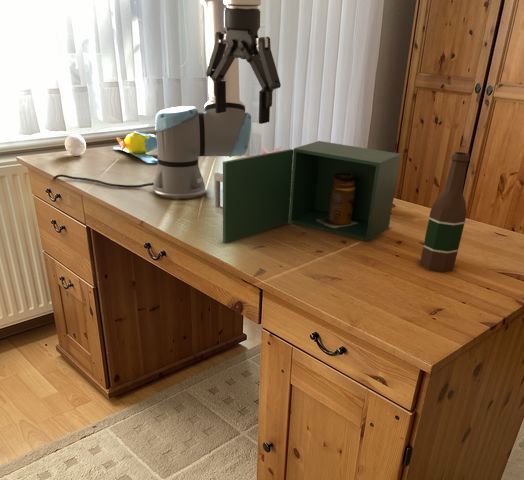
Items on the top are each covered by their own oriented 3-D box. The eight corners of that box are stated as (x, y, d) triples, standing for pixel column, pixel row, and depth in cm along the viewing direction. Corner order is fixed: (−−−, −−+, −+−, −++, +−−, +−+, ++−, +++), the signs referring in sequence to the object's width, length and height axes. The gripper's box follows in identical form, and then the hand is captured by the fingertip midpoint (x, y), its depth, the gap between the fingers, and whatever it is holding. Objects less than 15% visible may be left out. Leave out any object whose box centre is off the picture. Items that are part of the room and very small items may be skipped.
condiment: (358, 223, 140) (364, 176, 134) (333, 229, 136) (339, 180, 130) (339, 216, 145) (344, 170, 139) (315, 221, 141) (319, 174, 135)
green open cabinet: (368, 241, 132) (379, 162, 122) (288, 222, 142) (293, 148, 132) (388, 228, 141) (400, 153, 131) (312, 210, 151) (318, 140, 142)
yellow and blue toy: (102, 125, 202) (139, 124, 210) (104, 150, 206) (140, 147, 214) (137, 139, 183) (176, 136, 192) (138, 165, 188) (176, 161, 196)
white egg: (63, 154, 198) (59, 133, 194) (83, 152, 202) (80, 131, 198) (72, 160, 191) (69, 138, 187) (93, 158, 195) (90, 136, 191)
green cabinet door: (207, 236, 130) (206, 157, 121) (271, 217, 144) (274, 145, 135) (225, 243, 127) (225, 162, 117) (288, 223, 141) (293, 149, 131)
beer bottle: (413, 259, 123) (435, 148, 110) (446, 259, 124) (472, 149, 111) (425, 272, 116) (449, 157, 104) (460, 273, 117) (488, 158, 105)
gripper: (187, 3, 115) (192, 110, 128) (276, 12, 102) (272, 130, 114) (213, 2, 120) (215, 105, 132) (301, 10, 107) (294, 124, 119)
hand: (241, 117), depth 123 cm, fingers open, 13 cm apart
